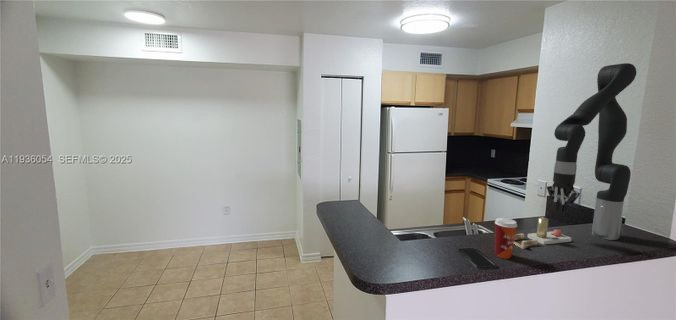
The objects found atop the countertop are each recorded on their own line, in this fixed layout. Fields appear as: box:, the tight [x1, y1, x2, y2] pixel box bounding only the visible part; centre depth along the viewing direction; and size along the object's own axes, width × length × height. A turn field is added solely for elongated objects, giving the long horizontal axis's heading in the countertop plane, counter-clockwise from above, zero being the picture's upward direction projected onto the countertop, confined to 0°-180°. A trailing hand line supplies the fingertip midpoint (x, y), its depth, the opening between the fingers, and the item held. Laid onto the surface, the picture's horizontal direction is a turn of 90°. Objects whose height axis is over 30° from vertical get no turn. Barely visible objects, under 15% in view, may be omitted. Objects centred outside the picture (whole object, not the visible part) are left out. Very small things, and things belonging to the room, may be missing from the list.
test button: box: [553, 229, 563, 237], centre depth 135 cm, size 3×3×4 cm
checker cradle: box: [527, 230, 572, 245], centre depth 134 cm, size 14×8×3 cm, turn 104°
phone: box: [458, 247, 498, 270], centre depth 117 cm, size 8×1×15 cm
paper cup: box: [494, 217, 518, 260], centre depth 119 cm, size 8×8×14 cm
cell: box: [536, 216, 549, 238], centre depth 132 cm, size 4×4×8 cm
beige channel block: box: [514, 233, 539, 250], centre depth 131 cm, size 7×8×3 cm
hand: (560, 211), depth 133 cm, fingers closed
